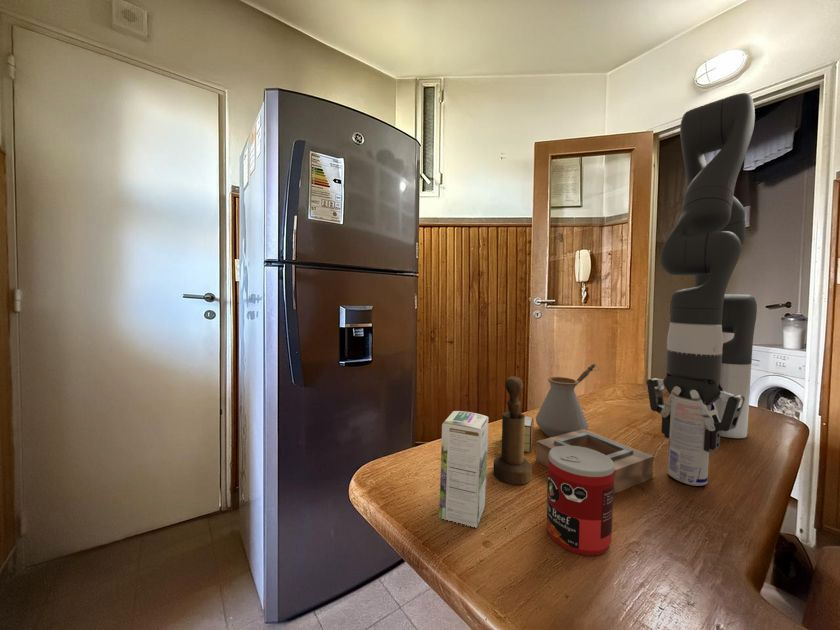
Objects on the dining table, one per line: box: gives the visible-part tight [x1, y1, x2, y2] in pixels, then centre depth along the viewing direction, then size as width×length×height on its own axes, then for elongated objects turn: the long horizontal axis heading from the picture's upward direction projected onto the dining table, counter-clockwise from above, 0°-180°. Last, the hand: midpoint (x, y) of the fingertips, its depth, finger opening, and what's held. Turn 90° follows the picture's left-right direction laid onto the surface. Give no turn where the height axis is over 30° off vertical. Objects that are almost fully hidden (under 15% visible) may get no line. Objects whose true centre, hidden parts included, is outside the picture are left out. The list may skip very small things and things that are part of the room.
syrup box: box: [438, 410, 489, 529], centre depth 50 cm, size 6×6×14 cm
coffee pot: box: [535, 363, 600, 438], centre depth 83 cm, size 21×12×15 cm, turn 127°
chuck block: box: [535, 429, 654, 495], centre depth 64 cm, size 14×14×5 cm
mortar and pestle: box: [492, 375, 532, 486], centre depth 61 cm, size 7×6×18 cm
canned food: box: [545, 445, 615, 557], centre depth 46 cm, size 8×8×11 cm
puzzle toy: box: [524, 416, 535, 453], centre depth 74 cm, size 6×6×6 cm
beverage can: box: [667, 395, 712, 487], centre depth 60 cm, size 6×6×15 cm
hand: (688, 443), depth 60 cm, fingers closed on beverage can, 5 cm apart
